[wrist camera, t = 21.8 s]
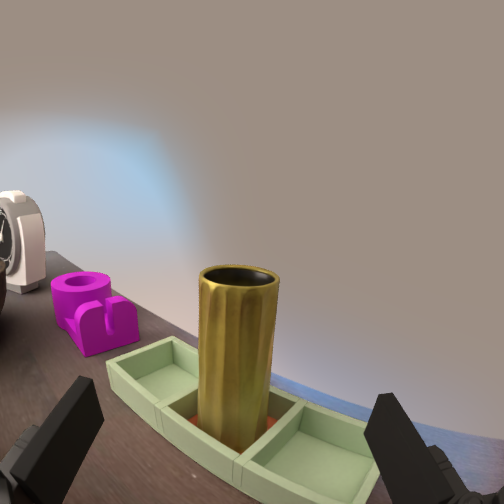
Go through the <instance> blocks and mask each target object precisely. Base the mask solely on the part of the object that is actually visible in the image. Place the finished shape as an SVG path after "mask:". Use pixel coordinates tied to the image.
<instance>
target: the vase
mask: <svg viewBox="0 0 504 504" xmlns="http://www.w3.org/2000/svg"><path fill="white" fill-rule="evenodd" d="M279 283H280V278H279V276H278V275H277V274H275V273H274V272H272V271H269V270H266V269H263V268H259V267H254V266H246V265H217V266H213V267H209V268H206V269H204V270H203V271H201V272H200V275H199V344H198V362H199V381H198V422H197V428H199V429H200V430H202V431H203V432H205V433H206V434H208V435H209V436H211V437H213V438H214V439H216V440H217V441H219V442H220V443H222V444H224V445H225V446H227V447H229V448H230V449H232V450H234V451H235V452H237V453H243V452H245V451H246V450H247V449H248V448H249V447H250V446H251V445H253V444H254V443H255V442H256V441H257V440H258V439H259V438H260V437H261V436H263V435H264V434H265V433H266V432H267V428H268V424H267V417H268V406H269V391H270V377H271V364H272V351H273V340H274V330H275V321H276V311H277V300H278V290H279Z"/></svg>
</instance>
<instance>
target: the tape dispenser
mask: <svg viewBox="0 0 504 504" xmlns="http://www.w3.org/2000/svg"><path fill="white" fill-rule="evenodd" d="M51 290H52V297H53V304H54V310H55V316H56V321H57V324H58V326H59V327H60V328H62V329H64V330H66V331H67V332H68V334H69V335H70V337H71V338H72V339H73V341H74V342H75V344H76V345H77V346H78V348H79V349H80V351H81V352H82V353H83V355H84V356H85V357H88V356H91V355H95V354H98V353H101V352H104V351H108V350H111V349H114V348H117V347H120V346H124V345H127V344H130V343H133V342H136V341H139V330H138V319H137V310H136V307H135V305H134V304H133V303H131V302H130V301H128V300H127V299H126V298H124V297H122V296H114V297H112V294H111V281H110V277H109V276H108V275H105V274H103V273H98V272H74V273H68V274H64V275H61V276H58V277H56V278H55V279H53V280H52V281H51Z"/></svg>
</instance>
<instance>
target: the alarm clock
mask: <svg viewBox="0 0 504 504" xmlns="http://www.w3.org/2000/svg"><path fill="white" fill-rule="evenodd" d="M0 259H1V260H2V261H3V262H4V263H5V264H6V287H7V289H9V290H12V291H14V292H17V293H19V294H23V293H26V292H28V291H30V290H33V289H35V288H37V287H39V286H38V280H41V279H44V278H46V272H45V267H46V262H45V228H44V222H43V218H42V215H41V212H40V209H39V207H38V205H37V204H36V203H35V201H34V200H33V199H31V198H30V197H28V196H26V195H25V194H24V193H23V192H21V191H5V192H1V193H0Z"/></svg>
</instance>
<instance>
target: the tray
mask: <svg viewBox="0 0 504 504" xmlns="http://www.w3.org/2000/svg"><path fill="white" fill-rule="evenodd" d="M106 366H107V371H108V376H109V381H110V385H111V389H112V390H113V391H114V392H115V393H116V394H117V395H118V396H119V397H120V398H121V399H122V400H123V401H124V402H125V403H126V404H127V405H128V406H129V407H130V408H131V409H132V410H133V411H134V412H136V413H137V414H138V415H139V416H140V417H141V418H142V419H143V420H144V421H145V422H147V423H148V424H149V425H150V426H151V427H152V428H154V429H155V430H156V431H157V432H158V433H159V434H161V435H162V436H163V437H164V438H166V439H167V440H168V441H169V442H170V443H172V444H173V445H174V446H176V447H177V448H178V449H179V450H181V451H182V452H183V453H185V454H186V455H187V456H189V457H190V458H191V459H193V460H194V461H196V462H197V463H198V464H200V465H201V466H203V467H204V468H205V469H207V470H208V471H210V472H211V473H213V474H214V475H216V476H217V477H219V478H220V479H222V480H223V481H225V482H227V483H228V484H230V485H231V486H233V487H235V488H236V489H238V490H240V491H241V492H243V493H245V494H246V495H248V496H250V497H252V498H254V499H255V500H257V501H259V502H261V503H263V504H365V503H366V501H367V499H368V497H369V495H370V493H371V491H372V489H373V487H374V485H375V483H376V481H377V479H378V477H379V475H380V472H379V469H378V467H377V465H376V462H375V460H374V458H373V455H372V453H371V451H370V448H369V446H368V444H367V441H366V439H365V437H364V434H363V433H364V431H365V428H366V426H367V424H368V423H367V422H364V421H361V420H358V419H355V418H352V417H349V416H346V415H343V414H340V413H338V412H335V411H332V410H330V409H327V408H324V407H322V406H319V405H316V404H314V403H311V402H308V401H306V400H304V399H301V398H299V397H297V396H294V395H292V394H289V393H287V392H285V391H282V390H280V389H278V388H275V387H273V386H271V385H270V391H269V406H268V417H267V424H268V428H267V432H266V433H265V434H264V435H263V436H261V437H260V438H259V439H258V440H257V441H256V442H255V443H254V444H253V445H251V446H250V447H249V448H248V449H247V450H246V451H245V452H243V453H237V452H235V451H234V450H232V449H230V448H229V447H227V446H225V445H224V444H222V443H220V442H219V441H217V440H216V439H214V438H213V437H211V436H209V435H208V434H206V433H205V432H203V431H202V430H200V429H199V428H197V422H198V381H199V362H198V349H196V348H194V347H192V346H190V345H188V344H187V343H185V342H183V341H181V340H179V339H178V338H176V337H174V336H170V337H168V338H165V339H163V340H160V341H158V342H155V343H153V344H150V345H148V346H145V347H142V348H140V349H137V350H134V351H132V352H129V353H126V354H124V355H121V356H118V357H116V358H113V359H110V360H107V361H106Z"/></svg>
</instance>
